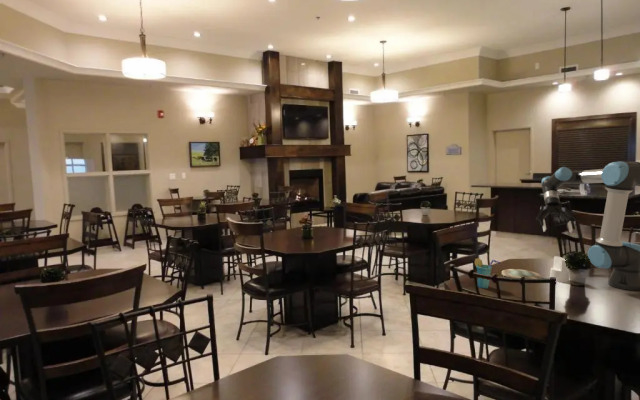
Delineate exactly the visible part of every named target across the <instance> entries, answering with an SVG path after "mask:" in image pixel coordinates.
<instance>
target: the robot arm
mask: <svg viewBox="0 0 640 400" xmlns="http://www.w3.org/2000/svg"><path fill="white" fill-rule="evenodd" d="M602 183H603V184H605V185H604V188H605V190H606V191H607V195H606V201H605V206H604V212H603V217H602V223H601V229H600V235H599V237H598V238H596V239H595V244H593V245H591V247H589V249H588V251H587V257H588V259H590V260H589V261H590V263H591V264H592V265H593V266H594V267H596V268H598V269H612V272H611V274H610V276H609V278H608V282H607V284H608V285H609V286H611V287H613V288H617V289H620V290H625V289H628V290H627V291H634V290H639V289H640V244H639V243H633V242H629V241H623V240H621V237H622V231H623V227H624V221H625V216H626V211H627V210H626V209H627V206H628V205H627V204H628V200H629V194H631V193H632V192H633V191H634V188H635V186H640V161H612V162H610V163H608V164H606V165H605V166H604V168H599V169H589V170H588V169H587V170H586V169H585V170H571V169H570V168H568V167H566V166H562V167H560V168H558V169H557V170H556V171H555V172H554V173H553V174H552V175H551V176H549V175H548V176H544V177H543V178H542V179H541V188H542V193H543V199H544V204H545V206H544V205H543V204H542V205H541V206H540V208H539V213H538V215H537V216H536V218H535V220H536V221H539V223H540V224H539V225H540V226H541V227H542V231H543V233H544V232H546V230H547V225H546V224H547V223H546V220H545V219H546V218H547V217H548V216H549V214H550V215H555V216H557V215H558V216H559V217H561V218H562V219H564V220H565V221H566V222H567V227H568V231H569V234H572V233H573V232H574V229H573V227H574V223H575V222H576V220H577V218H575V216H574V215H573V214H572V213H571V211H569V209H568V207H567V206H564V207H562V206H561V201H560V197H559V191H558V189H559V188H560V187H562V186H563V185H564V184H565V185H566V184H567V185H573V184H574V185H576V184H578V185H585V184H602ZM545 210H546V212H545V213H544V214H543V215H542V213H543V211H545ZM639 291H640V290H639Z"/></svg>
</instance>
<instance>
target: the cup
mask: <svg viewBox="0 0 640 400" xmlns="http://www.w3.org/2000/svg"><path fill="white" fill-rule="evenodd" d="M493 263H497V264H500V263H501V262H500V261H498V260H495V259H492V260H491V261H490V264H489V265H488V264H483V261H482V259H481V258H479V257H477V258H475V259H474V266H475V267H476V274H477V273H479V274H483V275H489V276H490V277H491V273H492V268H493V267H492V265H493ZM476 278H477V277H476ZM489 284H490V280H487V279H482V278H477V287H478V288H479V289H489Z"/></svg>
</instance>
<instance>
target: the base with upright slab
mask: <svg viewBox="0 0 640 400" xmlns="http://www.w3.org/2000/svg"><path fill="white" fill-rule="evenodd" d="M565 259H566V258H564V257H561V256H556V255H555V256H553V266H552V267H550V272H549V274H550V275H549V278H550V277H556V278H557V283H562V284H563V283H569V281H570V272H569V270H570V269H569V268H568V266H567V267H566V264H565V261H566V260H567V259H566V260H565ZM568 269H569V270H568Z"/></svg>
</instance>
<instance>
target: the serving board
mask: <svg viewBox="0 0 640 400" xmlns="http://www.w3.org/2000/svg"><path fill="white" fill-rule="evenodd" d="M502 275H503V276H502ZM501 276H502V277H504V276H506V277H511V278H521V277H525V278H528V279H541V280H542V274H540V273H538V272H536V271H532V270H527V269H518V268H516V269H515V268H507V269H503V270H501ZM506 277H505V278H506Z"/></svg>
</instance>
